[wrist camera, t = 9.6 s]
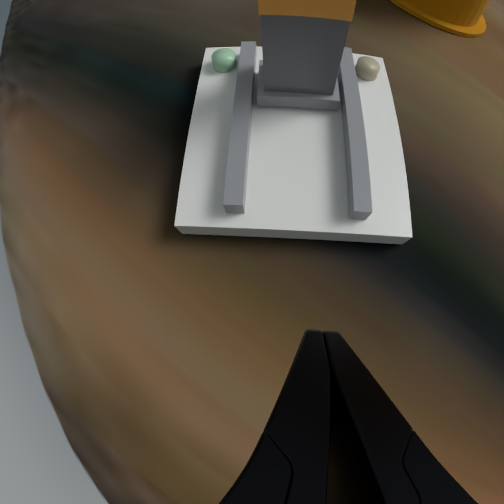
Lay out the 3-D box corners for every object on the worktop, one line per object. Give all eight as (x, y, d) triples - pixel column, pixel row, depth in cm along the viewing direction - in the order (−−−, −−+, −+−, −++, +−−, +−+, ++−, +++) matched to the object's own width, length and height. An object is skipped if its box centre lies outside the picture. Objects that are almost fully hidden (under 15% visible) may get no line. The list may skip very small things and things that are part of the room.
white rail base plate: (401, 244, 22) (421, 231, 18) (182, 233, 23) (167, 218, 20) (377, 71, 25) (386, 47, 22) (209, 62, 27) (203, 36, 23)
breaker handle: (337, 110, 22) (366, 0, 12) (257, 105, 22) (248, -9, 12) (333, 74, 23) (354, -30, 13) (260, 69, 23) (253, -38, 13)
